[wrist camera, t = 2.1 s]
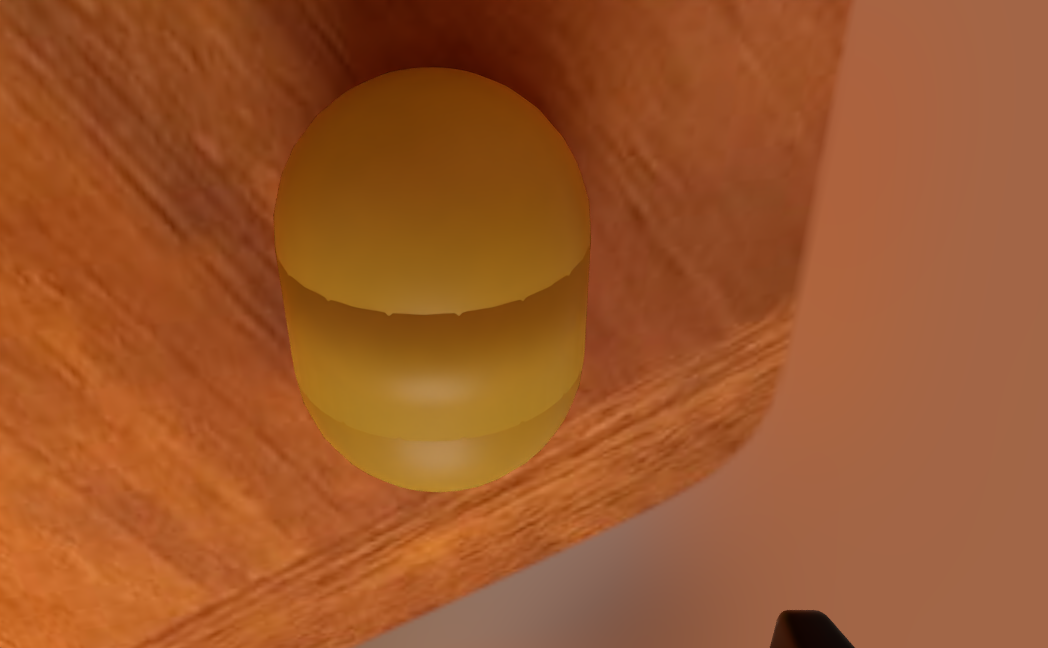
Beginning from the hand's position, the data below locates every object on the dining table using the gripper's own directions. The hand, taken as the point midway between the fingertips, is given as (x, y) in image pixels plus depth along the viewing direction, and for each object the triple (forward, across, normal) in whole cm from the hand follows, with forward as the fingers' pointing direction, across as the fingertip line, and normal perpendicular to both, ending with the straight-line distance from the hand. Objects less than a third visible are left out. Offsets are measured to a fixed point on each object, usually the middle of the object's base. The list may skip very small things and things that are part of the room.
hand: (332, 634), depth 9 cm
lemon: (+10, 0, +1) cm, 10 cm away
